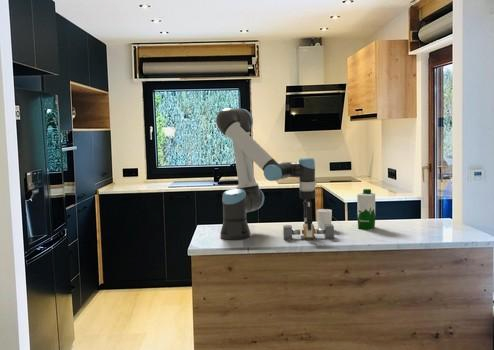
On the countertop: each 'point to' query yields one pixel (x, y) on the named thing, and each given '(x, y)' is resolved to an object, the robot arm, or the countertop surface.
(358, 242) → the countertop surface
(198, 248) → the countertop surface
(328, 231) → the grey knob with stem
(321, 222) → the white cup
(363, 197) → the milk carton
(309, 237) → the coupler
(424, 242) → the countertop surface
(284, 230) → the bearing
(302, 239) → the pad
